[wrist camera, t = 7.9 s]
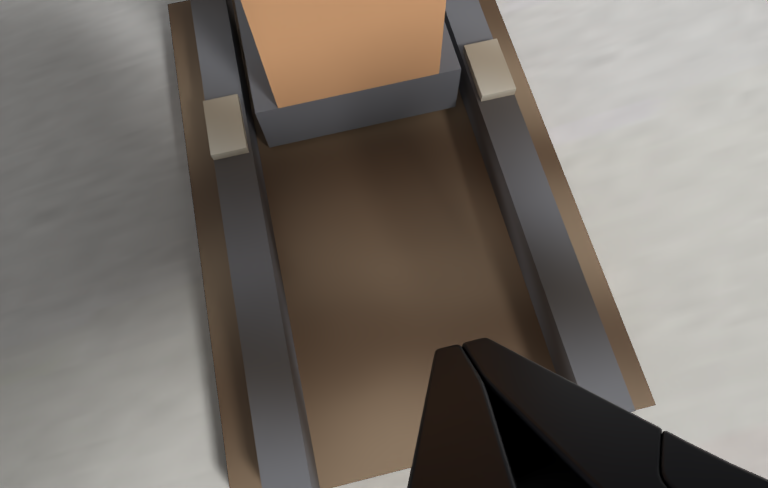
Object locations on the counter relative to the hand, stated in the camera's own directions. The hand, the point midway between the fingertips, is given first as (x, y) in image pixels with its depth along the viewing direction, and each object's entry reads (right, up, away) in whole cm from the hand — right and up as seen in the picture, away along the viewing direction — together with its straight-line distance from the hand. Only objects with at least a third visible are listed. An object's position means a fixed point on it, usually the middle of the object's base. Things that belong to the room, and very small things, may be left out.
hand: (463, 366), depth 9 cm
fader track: (-2, +4, +11) cm, 12 cm away
